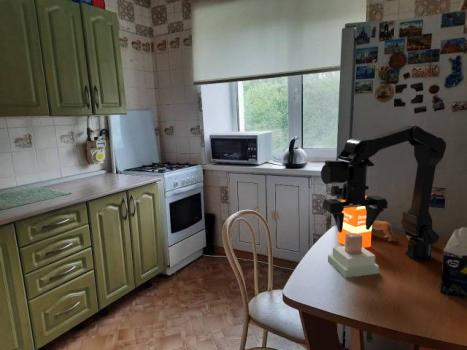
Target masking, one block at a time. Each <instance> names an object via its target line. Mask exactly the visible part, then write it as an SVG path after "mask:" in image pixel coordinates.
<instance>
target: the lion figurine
mask: <svg viewBox="0 0 467 350" xmlns="http://www.w3.org/2000/svg"><path fill="white" fill-rule="evenodd" d="M373 230H376V231H381V230H383V233H384V234H385V235H383V237H384V238H388V239H387V242H389V243H390V242H392V241H393V239H394V240H395V241H398V240H399V239H398V238H397V237H396V236H395V234H394V231H393V227H392V225H391V224H390V222H388V221H383V220H382V221H381V220H377V218H376V219H375V221H374V222H373V224H372V231H371V234H372V233H373ZM390 232H391V233H390Z"/></svg>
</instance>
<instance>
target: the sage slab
mask: <svg viewBox="0 0 467 350" xmlns="http://www.w3.org/2000/svg"><path fill="white" fill-rule="evenodd" d="M327 262H328V263H329V264H330V265H331V266H332V265H333V266H332V267H333V268H334V269H335V268H336V269H337V270H338V271H339V272H338V271H337V270H336V269H335V270H336V271H337V272H338V273H339V274H341V275H342V276H343V277H344V279H345V278H346V277H348V278H353V276H355V277H362V275H363V276H369V275H377V274H379V273H380V265H378V264H377V263H376V262H375V265H370V266H363V267H356V268H346V267H345V266H344V265H343V264H342V263H340V262H339V261H338V260H337V259H336V258H334V257H333V253H331V254H327ZM346 279H347V278H346Z"/></svg>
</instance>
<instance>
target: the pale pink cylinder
mask: <svg viewBox="0 0 467 350" xmlns="http://www.w3.org/2000/svg"><path fill="white" fill-rule="evenodd" d="M344 246H345V252H347V253H349V254H361V253H362V235H360V234H357V233H347V234H345V245H344Z"/></svg>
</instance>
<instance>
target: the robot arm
mask: <svg viewBox="0 0 467 350" xmlns="http://www.w3.org/2000/svg"><path fill="white" fill-rule="evenodd" d="M406 142H407V143H408V144H409V145H410V146H412V147H413V156H414V158H415V160H416V163H417V167H416V174H415V179H414V180H415V181H414V187H413V192H412V199H411V206H410V208H409V209H408V210H407V211H403V212H402V217H401V222H400V224H401V227H402V229H403V230H404V233H405V235H406V236H410V237H411V238H409V239H408V240H409V241H408V243H407V251H404V254H405V255H407V256H408V257H411V258H412V259H414V260H415V261H418V262H424V261H431V260H435V259H436V257H435V256H433V255H432V254H433V253H432V251H433V245H434V244H437V243H438V242H439V239H440V236H439V235H438V233H437V232H436V231H435V230H434V228H433V219H432V215H431V213H430V210H429V209H430V204H431V197H432V193H433V192H432V191H433V187H434V186H433V185H434V179H435V174H436V168H437V165H438V164H439V163H440V162H441V160H443V158H444V155H445V151H446V148H447V143H446V141H445V140H444V139H443V138H442V137H440V136H439V137H438V136H436V135H434V134H433V133H430V132H428V131H426V130H424V129H423V128H421V127H420V126H419V125H411V124H410V125H409V124H408V125H406V124H405V125H404V126H402V127H400V128H397V129H393V130H390V131H387V132H384V133H381V134H378V135H374V136H369V137H357V138H356V137H354V138H349V139H348V140H347V141H346V142H345V144H344V147H343V149H342V150H341V152H339V155H338V156H337V157H336V159H335V160H329V159H328V160H325V161H324V165H323V166H322V168H321V170H320V177H321V180H322V183H323V184H325V185H331V184H342V183H343V184H342V185H343V186H342V187H340V186H339V185H331V187H330V195H331V196H332V197H336V198H330V199H329V198H328V199H324V200H323V202H322V209H323V210H324V211H326V212H328V213H329V214H331V215H332V217H333V219H334V221H335V224H336V228H337V232H338V231H339V232H340V233H341V232H342V229H343V220H344V213H342V211H343V210H344V208H349V207H360V206H365V208H366V229H367V230H369V229H370V227H371V226H372V224H373V222H374V221H375V219H376V220H377V218H378V216H380V214H381V213H382V212H384V210H385V209H388V208H389V203H388V200H387V198H385V197H382V196H379V195H377V194H375V195H367V194H366V193H367V190H369V188H370V187H369V185H368V184H367V179H368V175H367V174H368V168H369V167H374V166H375V163H373V162H372V161H371V160H370V158H371V157H374V156H375V155H376V154H377V153H378V152H379V151H382V150H384V149H387V148H390V147H393V146H396V145H399V144H402V143H403V144H404V143H406ZM365 198H366V199H365ZM341 200H345V202H341Z"/></svg>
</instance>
